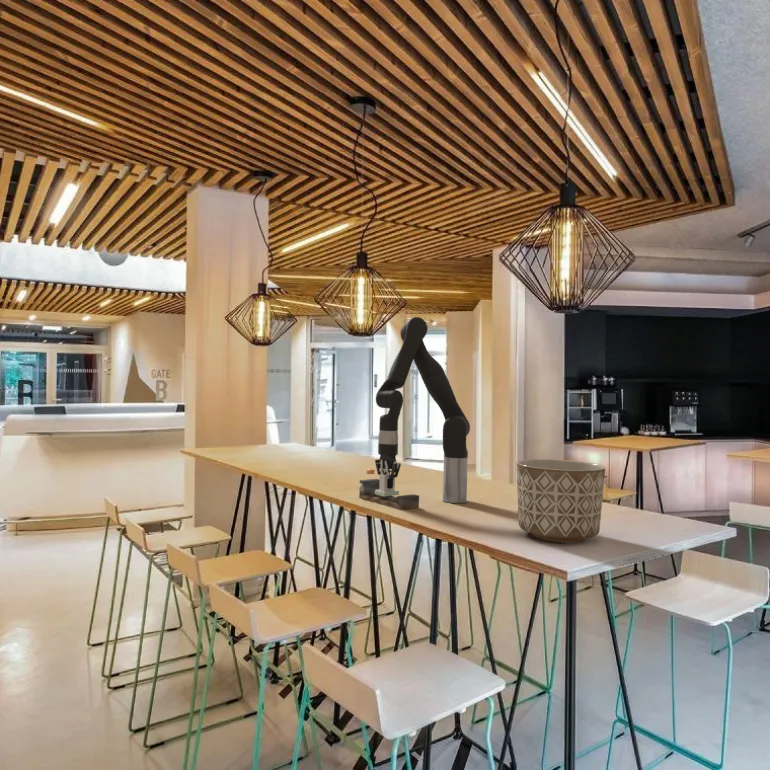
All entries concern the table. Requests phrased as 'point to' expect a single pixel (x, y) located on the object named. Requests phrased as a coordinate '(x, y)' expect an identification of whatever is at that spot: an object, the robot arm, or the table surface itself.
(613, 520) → the table surface
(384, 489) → the carriage
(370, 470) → the gauge button
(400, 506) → the rail
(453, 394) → the robot arm
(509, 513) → the table surface
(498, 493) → the table surface
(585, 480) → the planter
